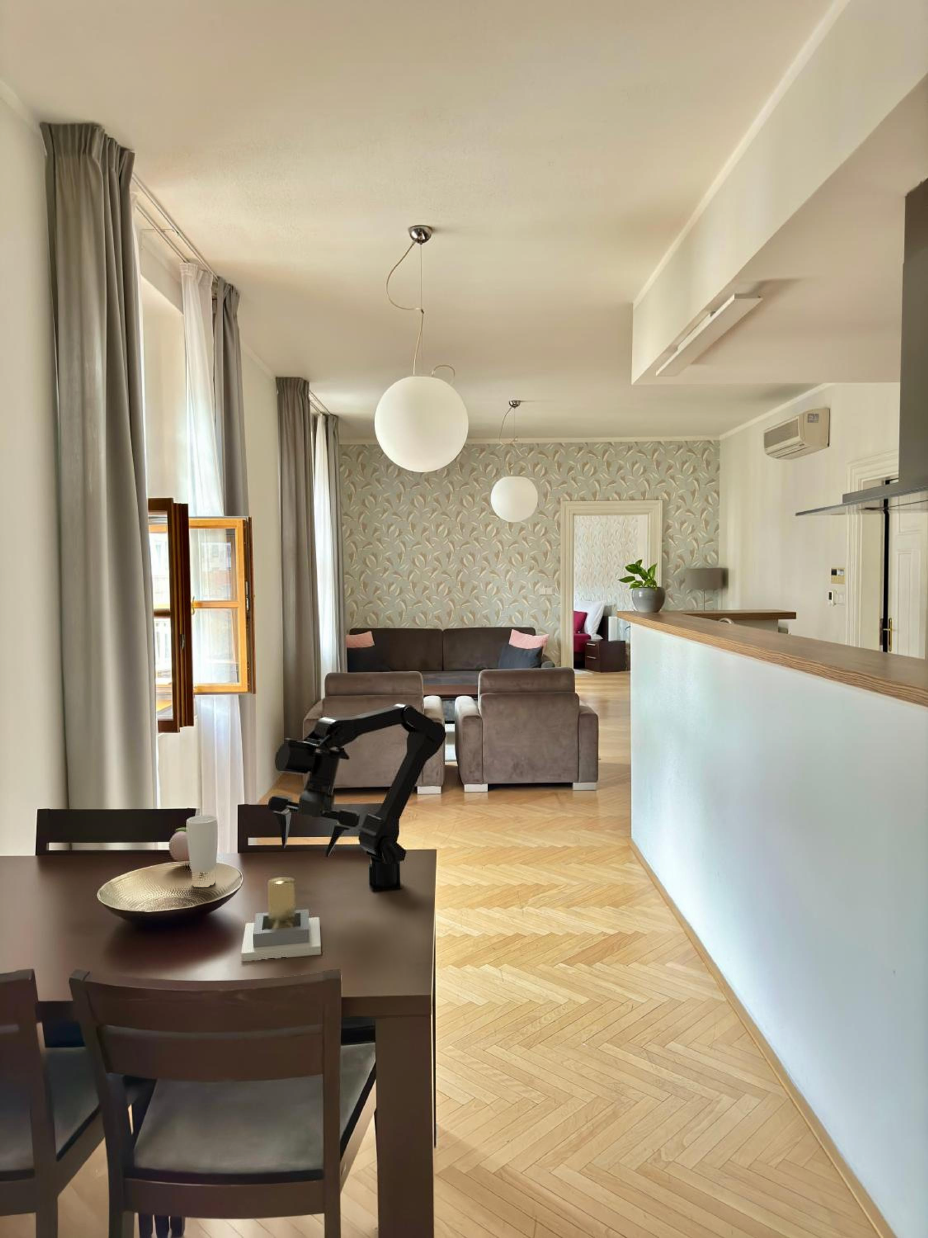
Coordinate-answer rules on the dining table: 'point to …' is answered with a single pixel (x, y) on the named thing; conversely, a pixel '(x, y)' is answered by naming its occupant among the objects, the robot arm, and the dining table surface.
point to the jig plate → (281, 938)
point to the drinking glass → (202, 842)
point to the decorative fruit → (179, 845)
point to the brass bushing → (281, 903)
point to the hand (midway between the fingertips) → (305, 852)
